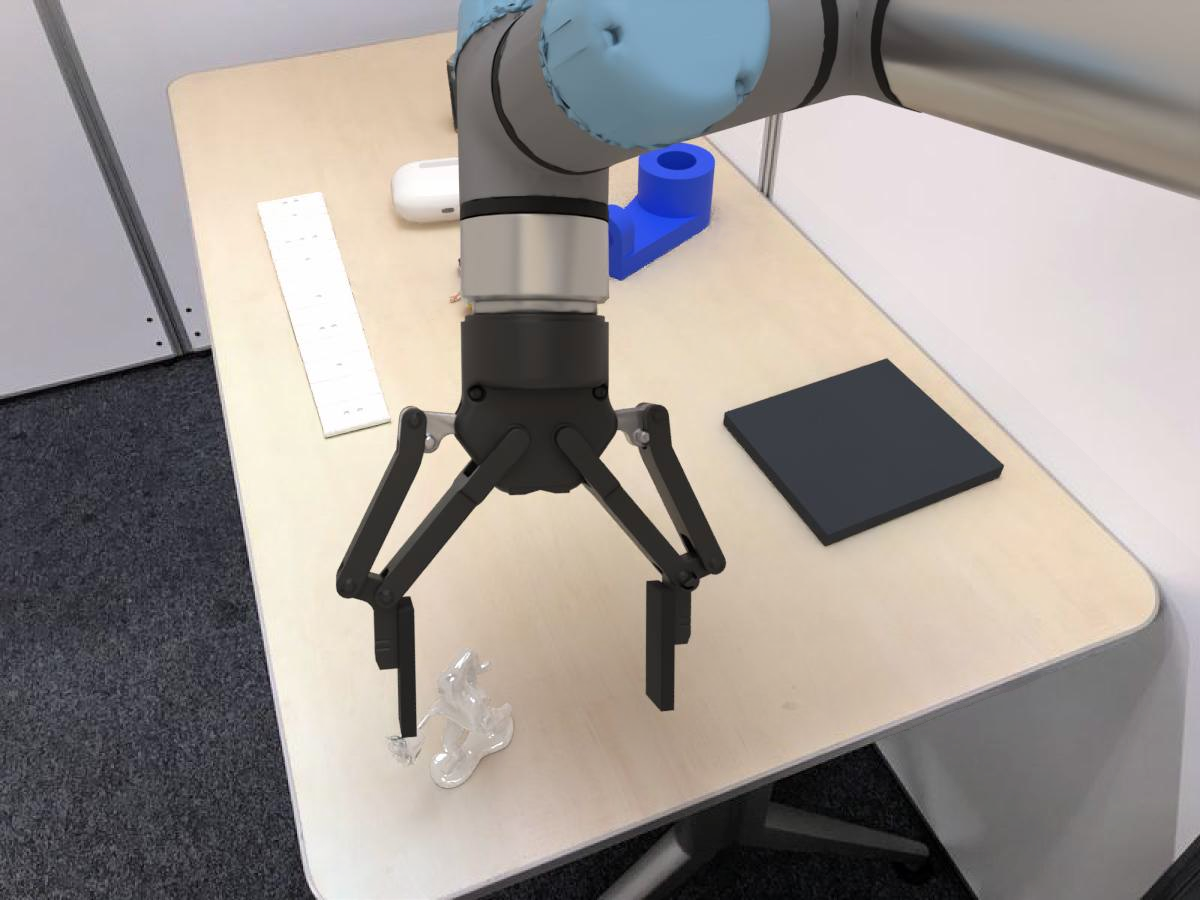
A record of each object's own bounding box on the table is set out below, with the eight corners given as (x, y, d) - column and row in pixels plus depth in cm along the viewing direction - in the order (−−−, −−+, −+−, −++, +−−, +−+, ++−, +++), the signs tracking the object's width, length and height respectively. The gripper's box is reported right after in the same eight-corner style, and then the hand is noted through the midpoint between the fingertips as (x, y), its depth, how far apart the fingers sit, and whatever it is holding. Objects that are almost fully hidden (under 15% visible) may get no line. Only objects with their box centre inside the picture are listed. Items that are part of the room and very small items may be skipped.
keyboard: (400, 420, 93) (397, 408, 92) (316, 441, 91) (312, 429, 90) (323, 199, 123) (320, 188, 122) (258, 211, 121) (255, 200, 120)
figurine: (531, 726, 70) (521, 629, 61) (453, 833, 64) (429, 742, 56) (478, 696, 72) (461, 597, 63) (397, 797, 66) (366, 703, 58)
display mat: (1000, 477, 87) (1004, 465, 86) (825, 546, 82) (827, 535, 81) (884, 369, 98) (887, 357, 97) (722, 423, 93) (724, 412, 92)
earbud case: (503, 224, 119) (499, 184, 115) (396, 235, 117) (389, 195, 113) (494, 183, 126) (490, 145, 122) (393, 193, 124) (386, 154, 121)
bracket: (662, 191, 124) (664, 135, 119) (723, 212, 121) (729, 155, 115) (572, 261, 113) (570, 202, 108) (636, 286, 109) (638, 227, 104)
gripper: (734, 315, 56) (729, 671, 58) (281, 310, 49) (294, 711, 52) (792, 310, 49) (784, 717, 51) (271, 304, 42) (287, 770, 44)
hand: (537, 715), depth 51 cm, fingers open, 13 cm apart
